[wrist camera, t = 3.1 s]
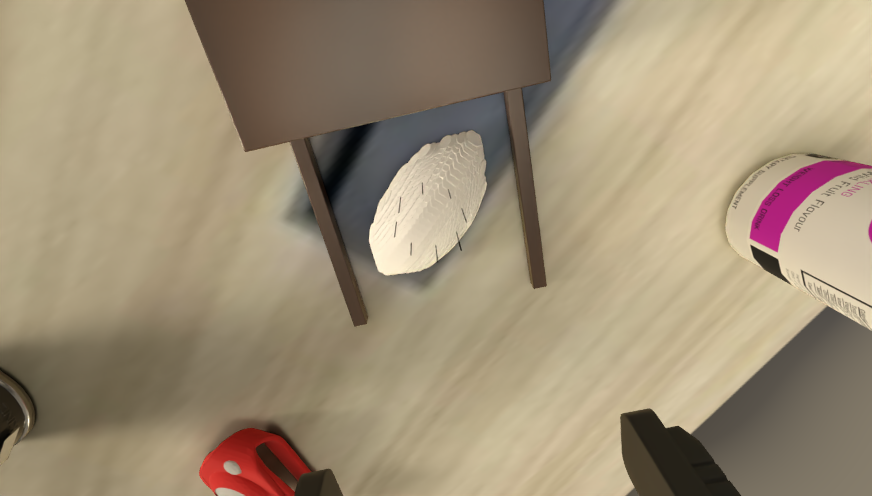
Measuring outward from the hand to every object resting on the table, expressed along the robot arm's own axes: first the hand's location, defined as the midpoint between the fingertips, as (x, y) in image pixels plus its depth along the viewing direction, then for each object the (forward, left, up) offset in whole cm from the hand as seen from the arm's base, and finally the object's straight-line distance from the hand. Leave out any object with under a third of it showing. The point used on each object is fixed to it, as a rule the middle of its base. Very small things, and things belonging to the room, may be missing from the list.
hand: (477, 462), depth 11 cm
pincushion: (-1, +1, -20) cm, 20 cm away
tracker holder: (-21, -21, -20) cm, 36 cm away
